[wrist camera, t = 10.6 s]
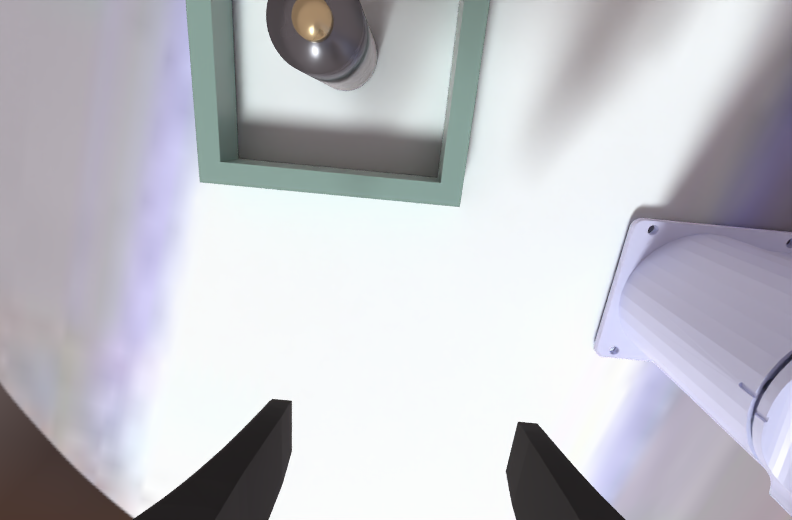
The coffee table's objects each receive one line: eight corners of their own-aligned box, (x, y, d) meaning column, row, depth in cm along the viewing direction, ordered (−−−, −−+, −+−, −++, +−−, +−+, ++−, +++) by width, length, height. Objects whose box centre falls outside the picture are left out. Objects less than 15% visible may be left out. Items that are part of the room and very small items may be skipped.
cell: (380, 21, 17) (365, -37, 11) (374, 94, 18) (357, 78, 12) (313, 13, 17) (261, -49, 11) (310, 86, 18) (261, 66, 12)
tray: (496, -94, 16) (508, -125, 14) (454, 199, 20) (459, 206, 18) (201, -123, 16) (173, -158, 14) (219, 176, 19) (199, 182, 18)
